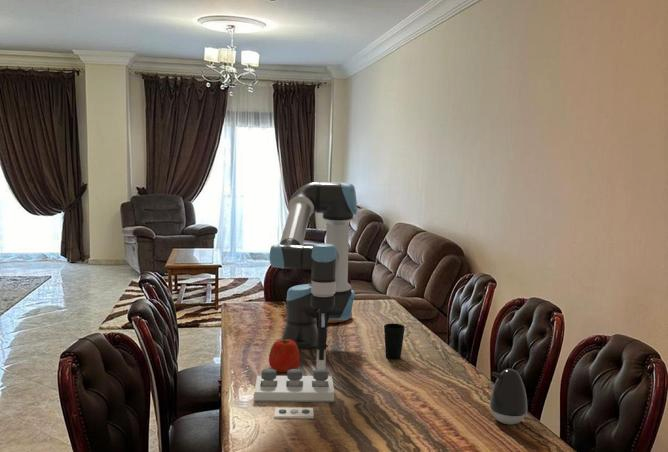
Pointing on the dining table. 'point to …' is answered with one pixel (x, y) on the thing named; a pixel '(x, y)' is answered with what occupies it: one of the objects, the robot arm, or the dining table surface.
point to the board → (294, 390)
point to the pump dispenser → (508, 397)
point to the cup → (393, 340)
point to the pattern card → (294, 413)
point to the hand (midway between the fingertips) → (320, 368)
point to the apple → (284, 355)
